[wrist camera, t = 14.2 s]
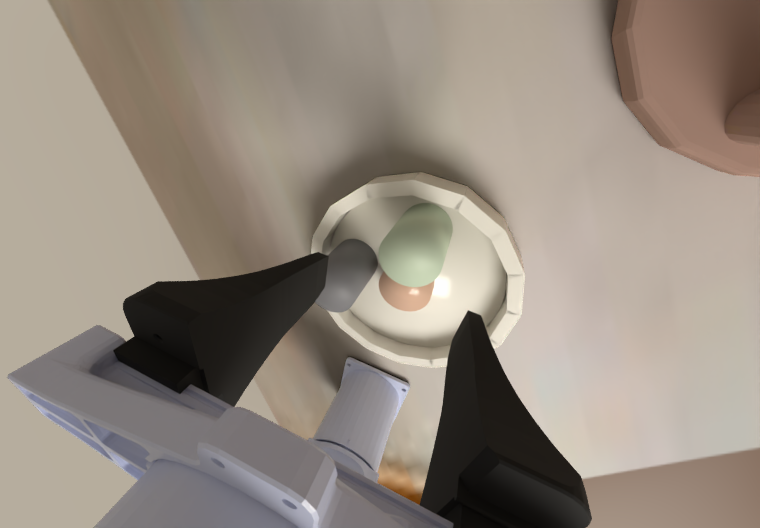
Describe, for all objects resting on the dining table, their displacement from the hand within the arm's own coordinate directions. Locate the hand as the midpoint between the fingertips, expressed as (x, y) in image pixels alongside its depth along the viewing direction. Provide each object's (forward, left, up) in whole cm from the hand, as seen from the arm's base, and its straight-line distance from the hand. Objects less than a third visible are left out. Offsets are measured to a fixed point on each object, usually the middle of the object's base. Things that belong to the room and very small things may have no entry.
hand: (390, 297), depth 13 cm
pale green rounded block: (0, 0, -9) cm, 9 cm away
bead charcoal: (-5, +5, -9) cm, 11 cm away
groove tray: (-5, 0, -10) cm, 11 cm away
